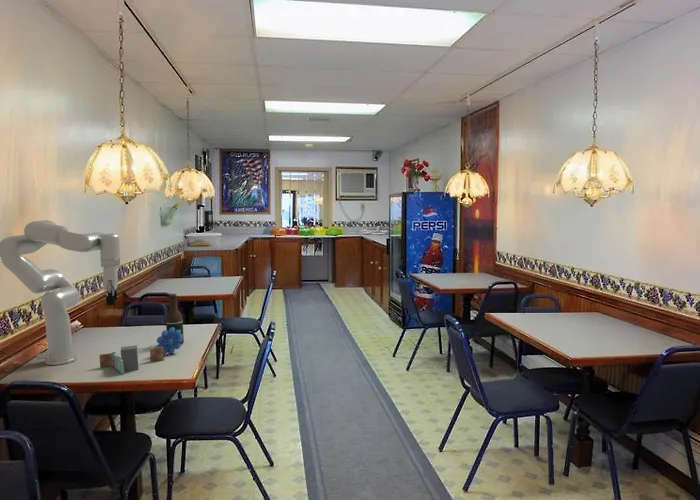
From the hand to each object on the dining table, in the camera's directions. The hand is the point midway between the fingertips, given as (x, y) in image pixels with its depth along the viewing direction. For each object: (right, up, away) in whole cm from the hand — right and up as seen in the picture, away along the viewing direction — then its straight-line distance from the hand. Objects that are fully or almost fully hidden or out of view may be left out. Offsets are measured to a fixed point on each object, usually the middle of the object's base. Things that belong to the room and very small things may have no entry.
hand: (111, 302), depth 231 cm
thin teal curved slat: (+7, -26, -10) cm, 29 cm away
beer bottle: (+18, -23, +28) cm, 40 cm away
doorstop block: (+11, -26, -9) cm, 30 cm away
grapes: (+21, -24, +12) cm, 34 cm away
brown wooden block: (+10, -26, -1) cm, 28 cm away
